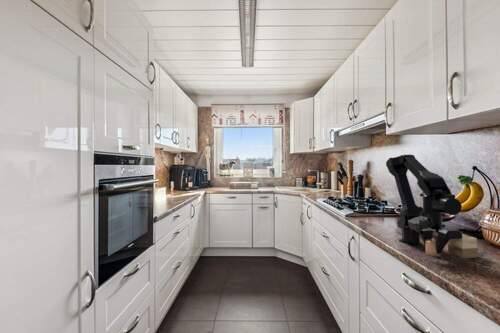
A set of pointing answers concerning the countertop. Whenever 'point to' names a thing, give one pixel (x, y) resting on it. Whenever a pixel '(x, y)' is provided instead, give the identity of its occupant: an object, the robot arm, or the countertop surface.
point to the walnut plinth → (463, 251)
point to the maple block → (464, 242)
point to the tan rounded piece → (431, 247)
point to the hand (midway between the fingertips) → (432, 251)
